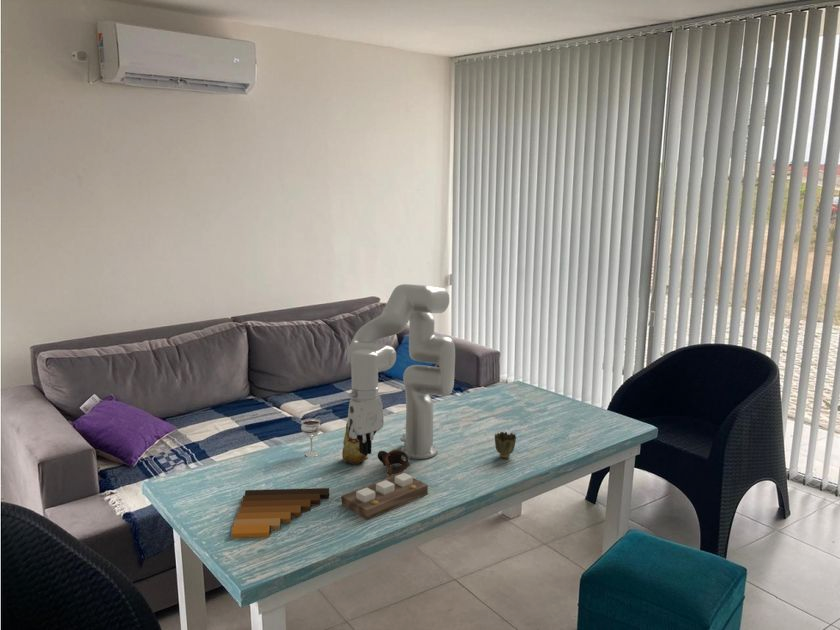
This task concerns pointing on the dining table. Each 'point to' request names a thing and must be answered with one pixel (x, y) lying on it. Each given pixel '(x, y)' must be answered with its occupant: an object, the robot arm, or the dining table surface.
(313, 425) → the wineglass
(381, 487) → the button middle
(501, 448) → the dark tapered rough piece
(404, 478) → the button
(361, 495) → the button
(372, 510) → the button board
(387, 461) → the pottery mug
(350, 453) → the decorative figurine
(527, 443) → the dining table surface
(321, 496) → the pan flute
